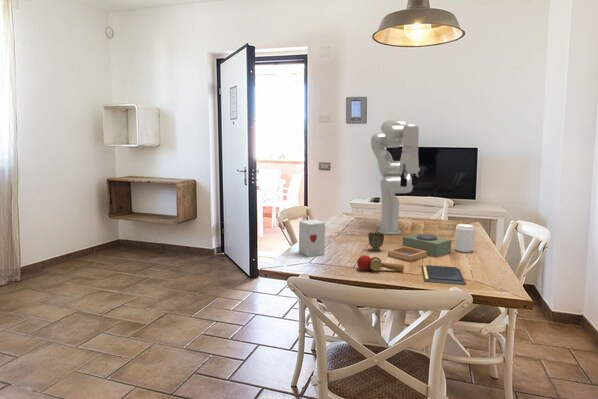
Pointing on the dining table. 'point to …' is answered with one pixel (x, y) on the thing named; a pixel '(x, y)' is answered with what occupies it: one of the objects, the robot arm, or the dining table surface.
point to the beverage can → (464, 238)
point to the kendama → (376, 264)
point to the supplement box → (312, 238)
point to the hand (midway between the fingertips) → (409, 185)
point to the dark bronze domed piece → (376, 240)
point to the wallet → (442, 275)
